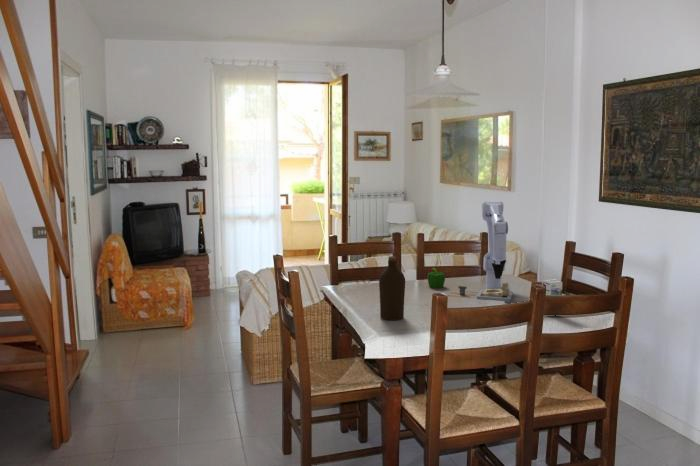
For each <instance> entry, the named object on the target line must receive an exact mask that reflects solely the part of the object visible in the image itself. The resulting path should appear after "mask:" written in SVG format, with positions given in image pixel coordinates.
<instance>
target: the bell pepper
mask: <svg viewBox="0 0 700 466" xmlns="http://www.w3.org/2000/svg"><path fill="white" fill-rule="evenodd" d="M431 270H432V271H431V272H428V273H427V283H428V286H429V288H432V289H442V288H443V287H444V285H445V282H446V273H444V272H441V271H438V270H437V269H436V268H435V267H433V268H431Z"/></svg>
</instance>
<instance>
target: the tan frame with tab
mask: <svg viewBox="0 0 700 466" xmlns="http://www.w3.org/2000/svg"><path fill="white" fill-rule="evenodd" d="M483 290H484V291H483V292H482V295H481V296H489V297H503V298H504V296H506V297H507V296H508V295H509V292H510V289H509V282H501V289H487V288H485V289H483Z"/></svg>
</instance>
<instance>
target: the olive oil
mask: <svg viewBox="0 0 700 466" xmlns="http://www.w3.org/2000/svg"><path fill="white" fill-rule="evenodd" d="M378 284H379V286H378V287H379V288H378V289H379V310H380V312H379V314H380V319H382V320H385V321H401V320H403V319H404V313H405V295H406V294H405V291H406V278H405V275H404V273H403V272H402V271H401V270H400V269H399V268H398V266H397V257H396V256H395V255H394V256H392V255H391V256H388V260H387V267H386V268H385V269H384V270H383V271H382V272H381V274H380V275H379V279H378Z"/></svg>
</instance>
